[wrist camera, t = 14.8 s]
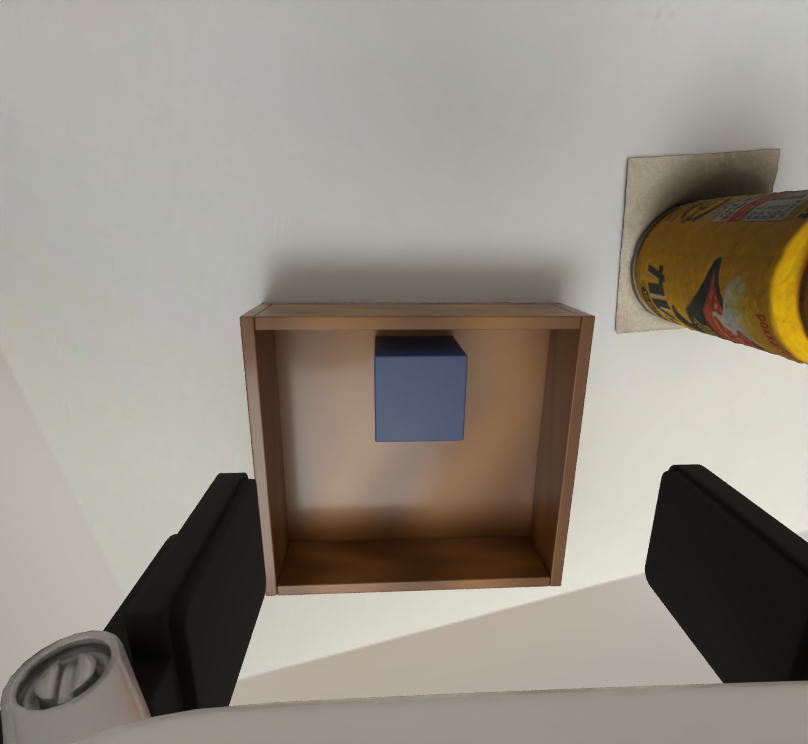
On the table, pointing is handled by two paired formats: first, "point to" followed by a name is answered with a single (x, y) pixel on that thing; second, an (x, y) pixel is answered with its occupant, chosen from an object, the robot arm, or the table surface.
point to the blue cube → (419, 388)
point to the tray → (414, 448)
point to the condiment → (716, 251)
